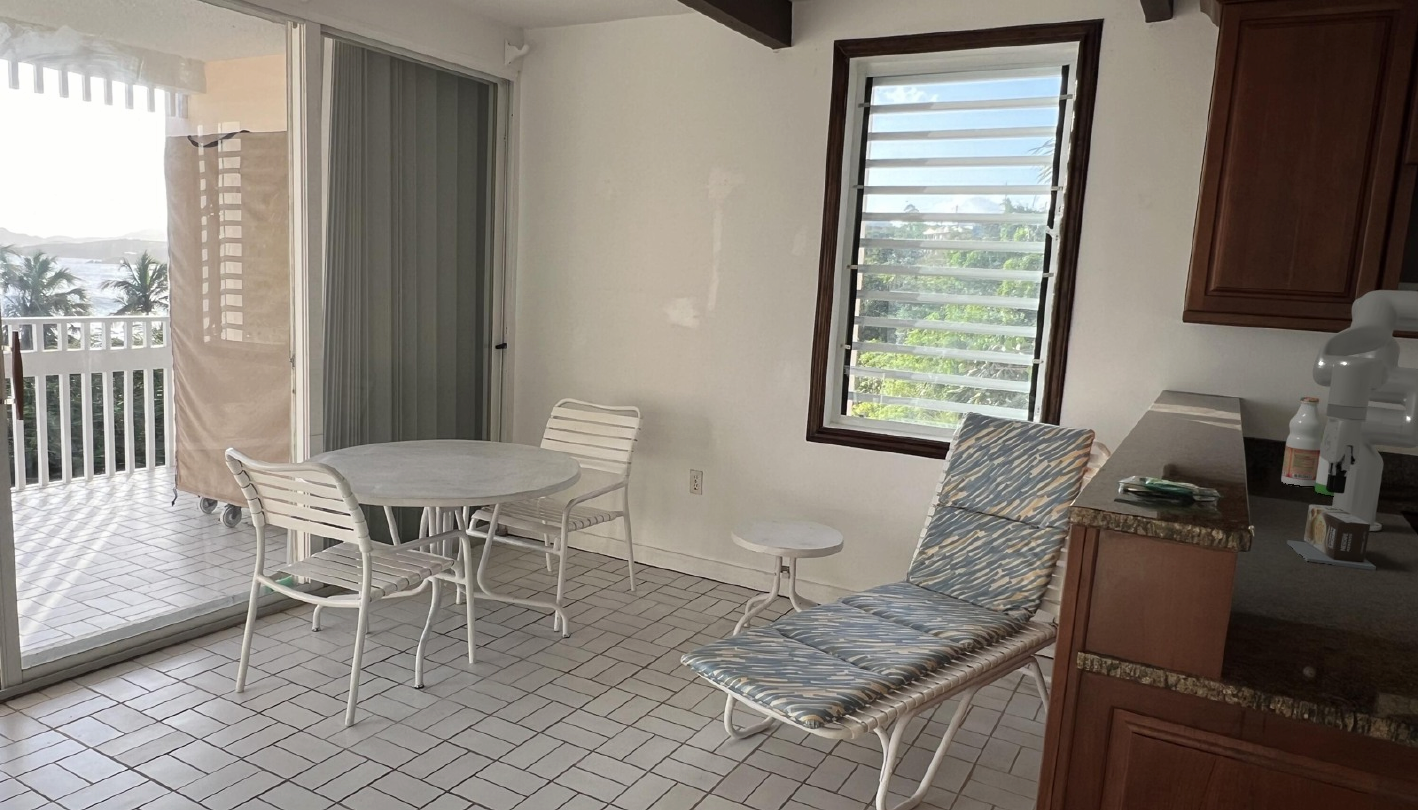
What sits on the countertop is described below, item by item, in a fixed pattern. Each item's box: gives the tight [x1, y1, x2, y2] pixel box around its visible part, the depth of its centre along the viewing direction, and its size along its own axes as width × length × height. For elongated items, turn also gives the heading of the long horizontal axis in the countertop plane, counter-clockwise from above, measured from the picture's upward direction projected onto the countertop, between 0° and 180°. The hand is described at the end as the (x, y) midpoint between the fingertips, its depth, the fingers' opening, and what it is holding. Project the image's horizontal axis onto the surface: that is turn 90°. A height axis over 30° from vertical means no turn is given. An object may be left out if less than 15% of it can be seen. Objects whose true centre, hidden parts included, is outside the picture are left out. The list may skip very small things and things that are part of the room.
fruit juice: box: [1280, 396, 1324, 487], centre depth 289 cm, size 9×9×28 cm
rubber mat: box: [1286, 539, 1377, 571], centre depth 208 cm, size 16×13×1 cm
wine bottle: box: [1314, 431, 1334, 496], centre depth 275 cm, size 8×8×30 cm
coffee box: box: [1303, 504, 1370, 562], centre depth 209 cm, size 9×6×16 cm
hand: (1334, 492), depth 209 cm, fingers closed
